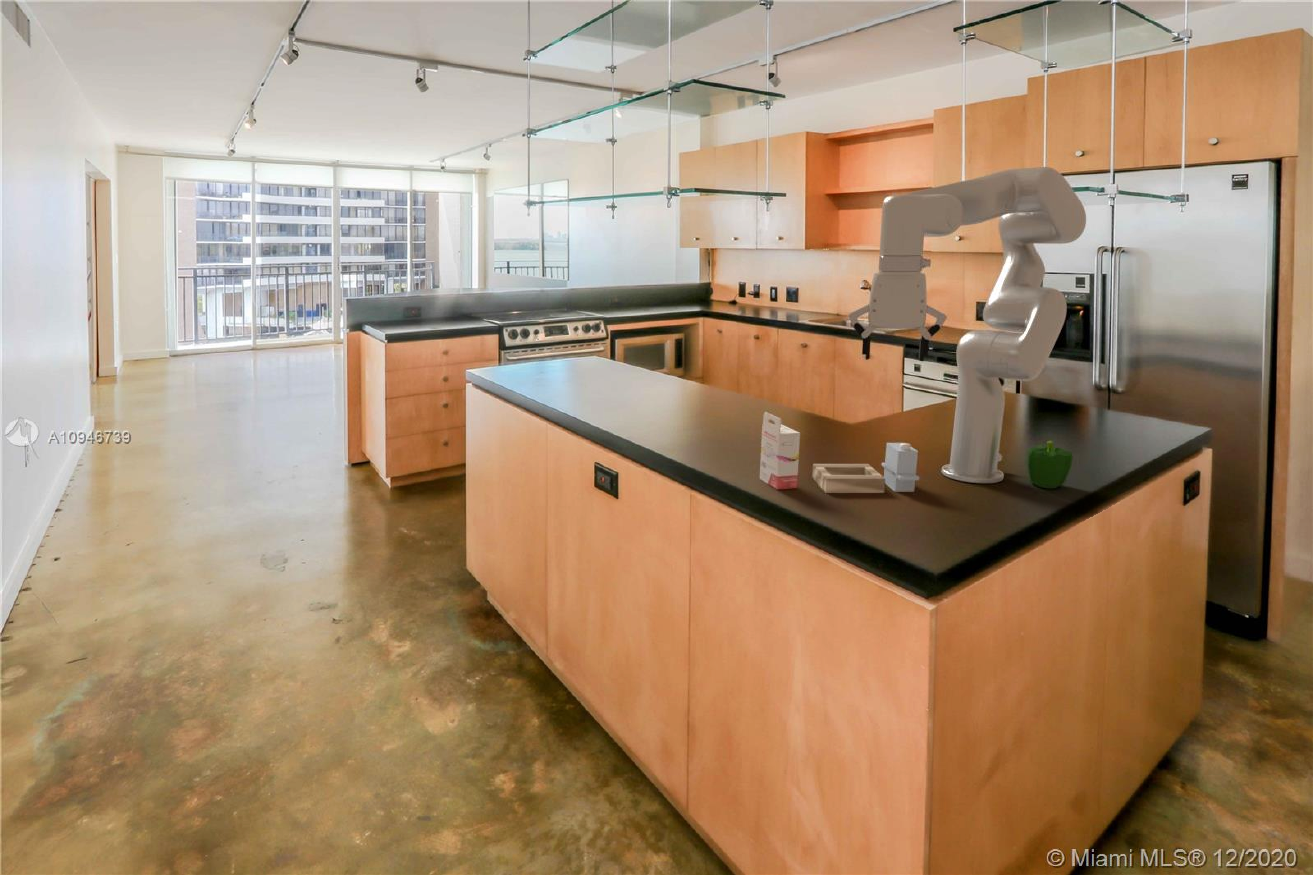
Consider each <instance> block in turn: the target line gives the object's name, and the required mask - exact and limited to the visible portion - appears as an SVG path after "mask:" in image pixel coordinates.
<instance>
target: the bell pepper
mask: <svg viewBox="0 0 1313 875" xmlns="http://www.w3.org/2000/svg"><path fill="white" fill-rule="evenodd" d="M1046 446H1047V447H1046ZM1046 446H1045V445H1038V446H1036V447H1034V446H1033V447H1030V449H1029V450H1028V451H1027V457H1026V458H1027V459H1026V466H1027V474H1028V479H1029V482H1030V483H1031V484H1034V485H1035V486H1037V487H1039V488H1044V489H1057V488H1058V487H1062V486H1063V484H1065V482H1066V480H1067V478H1068V476H1069V474H1070V471H1071V468H1072V464H1073V457H1074V456H1073V454H1072V451H1070V450H1069V451H1068V450H1065V449H1064V448H1062V447H1054V441H1053V440H1048V441H1047V442H1046Z"/></svg>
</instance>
